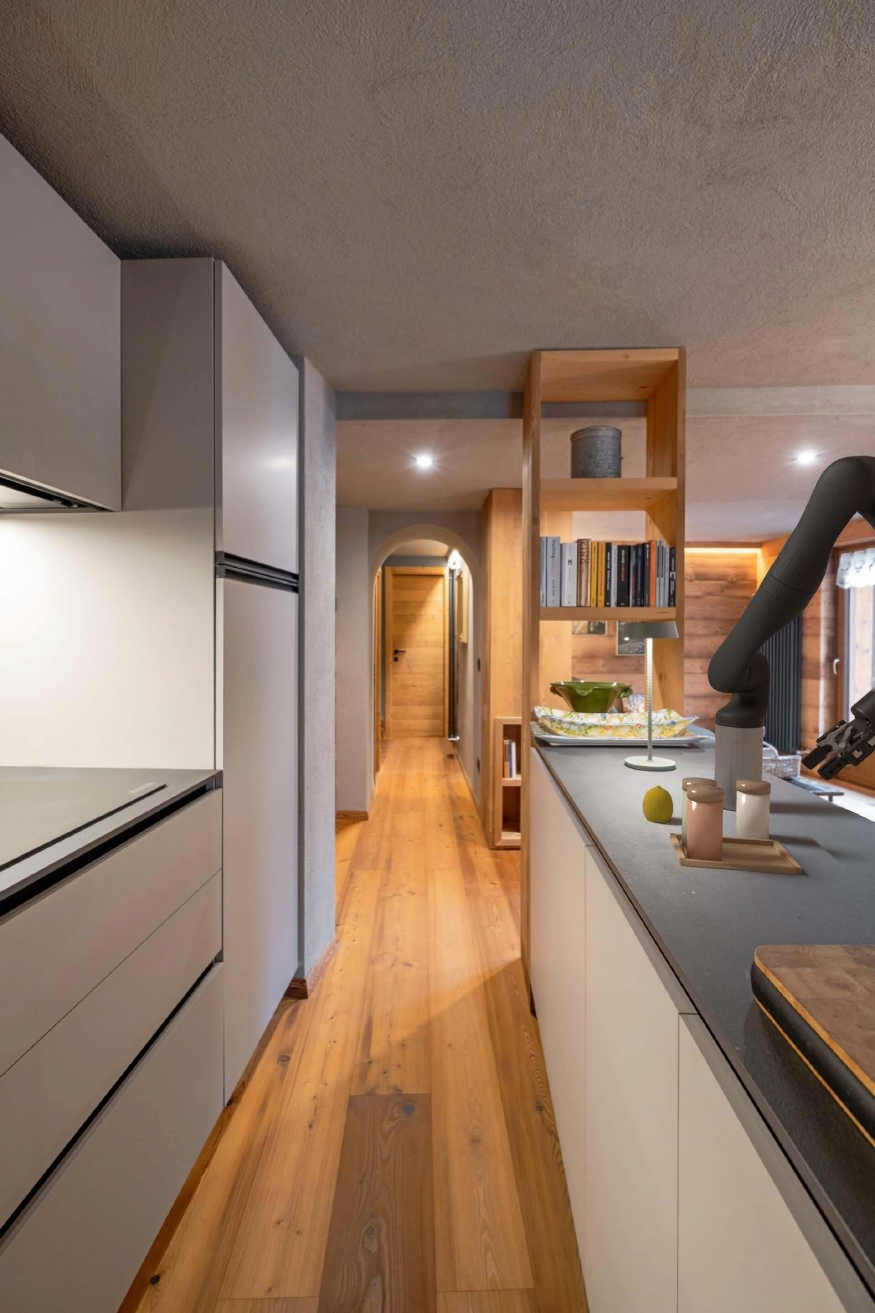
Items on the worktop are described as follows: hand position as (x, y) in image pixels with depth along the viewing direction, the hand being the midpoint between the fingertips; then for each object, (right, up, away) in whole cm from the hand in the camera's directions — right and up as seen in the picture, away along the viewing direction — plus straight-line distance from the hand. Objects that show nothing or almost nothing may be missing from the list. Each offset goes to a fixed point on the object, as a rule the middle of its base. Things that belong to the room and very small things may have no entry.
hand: (813, 771), depth 115 cm
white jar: (-9, -13, +3) cm, 16 cm away
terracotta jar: (-22, -12, -9) cm, 27 cm away
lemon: (-22, -13, +13) cm, 29 cm away
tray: (-17, -14, -7) cm, 23 cm away
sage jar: (-21, -12, -3) cm, 24 cm away
